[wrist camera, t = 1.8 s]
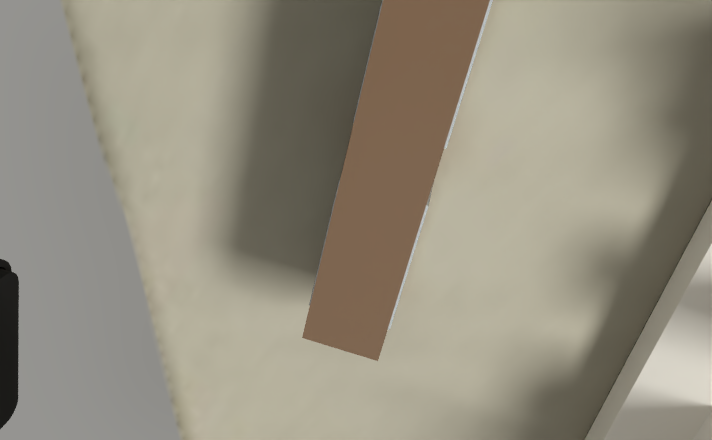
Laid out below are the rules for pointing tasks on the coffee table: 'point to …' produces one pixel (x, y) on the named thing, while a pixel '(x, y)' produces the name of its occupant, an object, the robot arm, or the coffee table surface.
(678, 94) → the coffee table surface
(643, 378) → the stand
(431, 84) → the tall brown box
